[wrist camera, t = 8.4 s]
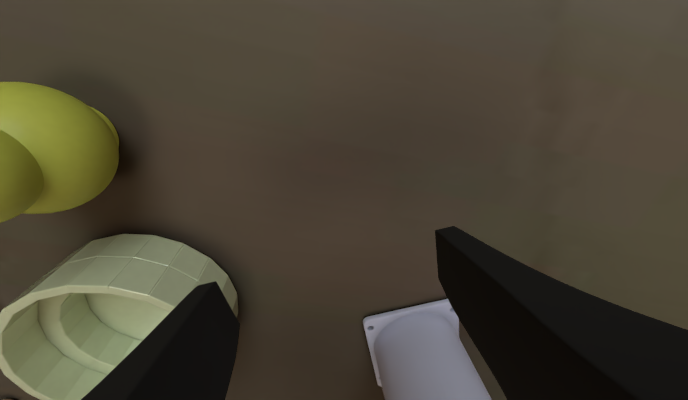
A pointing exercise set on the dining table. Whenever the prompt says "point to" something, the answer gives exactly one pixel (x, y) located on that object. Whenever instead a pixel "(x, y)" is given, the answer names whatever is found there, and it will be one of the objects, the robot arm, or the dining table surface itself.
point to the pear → (51, 150)
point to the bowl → (98, 311)
